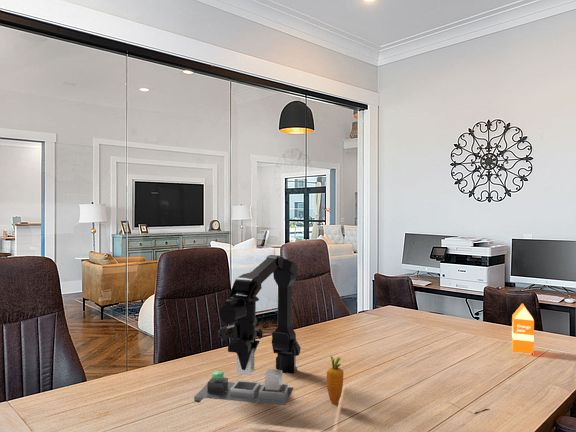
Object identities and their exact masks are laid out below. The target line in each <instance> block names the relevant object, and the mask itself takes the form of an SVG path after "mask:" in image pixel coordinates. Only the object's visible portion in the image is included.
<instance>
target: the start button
mask: <svg viewBox="0 0 576 432" xmlns="http://www.w3.org/2000/svg"><path fill="white" fill-rule="evenodd" d="M211 374H212V375H211V378H212V379H214V380H220V379H223V378H225V373H224V372H223V371H221V370H217V371H213V372H212V373H211Z"/></svg>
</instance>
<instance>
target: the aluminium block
mask: <svg viewBox="0 0 576 432" xmlns="http://www.w3.org/2000/svg"><path fill="white" fill-rule="evenodd" d="M254 352H255V353H256V351H255V348H253V350H252V353H251V356H250V359H249V361H248V364H247V367H246V369H245V370H242V368H241V365H240V361H239V358H238V355H237V354H236V375H246V376H251V375H252V374H253V372H255V353H254Z"/></svg>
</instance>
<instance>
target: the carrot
mask: <svg viewBox="0 0 576 432" xmlns="http://www.w3.org/2000/svg"><path fill="white" fill-rule="evenodd" d="M330 360H331V366H332V367H329V368H328V369H327V371H326V387H327V395H328V397H329V400H330V402H331V404H334V405H337V404H338V403H339V401H340V398H341V396H342V392H343V386H344V373H345V372H344V370H343V369H342V368H340V366H342V364H341V363H339V362H340V361H341V357H339V356H337V357H336V360H335V358H334V357H333V355H332V356H330Z"/></svg>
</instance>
